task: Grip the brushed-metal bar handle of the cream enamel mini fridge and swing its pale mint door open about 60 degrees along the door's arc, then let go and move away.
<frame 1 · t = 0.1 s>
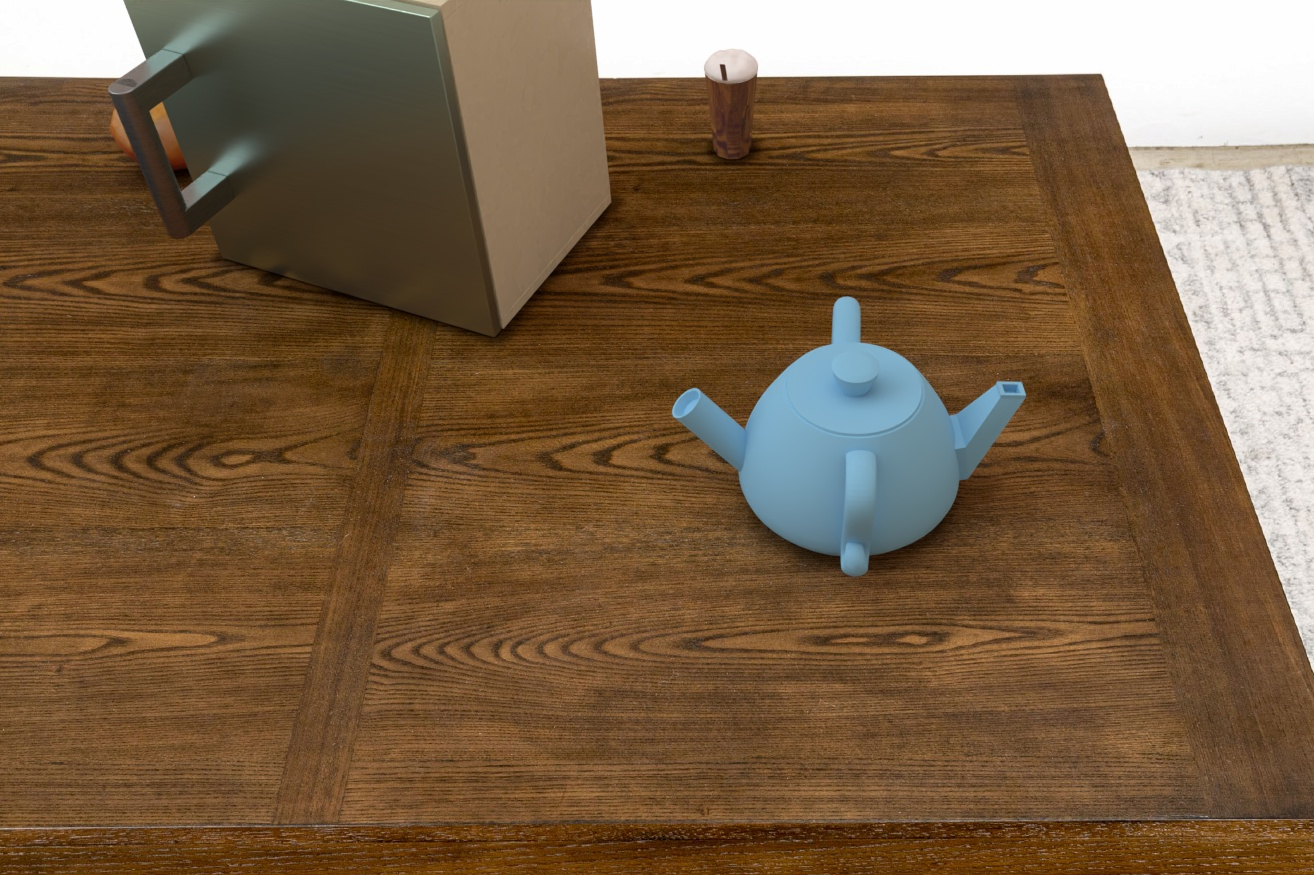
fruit: (176, 162, 114), on the table
fridge door: (289, 173, 89), point 13 cm above the table, hinge at 0.0°
milkshake: (731, 154, 113), on the table
fridge: (424, 226, 106), on the table
teapot: (841, 488, 85), on the table
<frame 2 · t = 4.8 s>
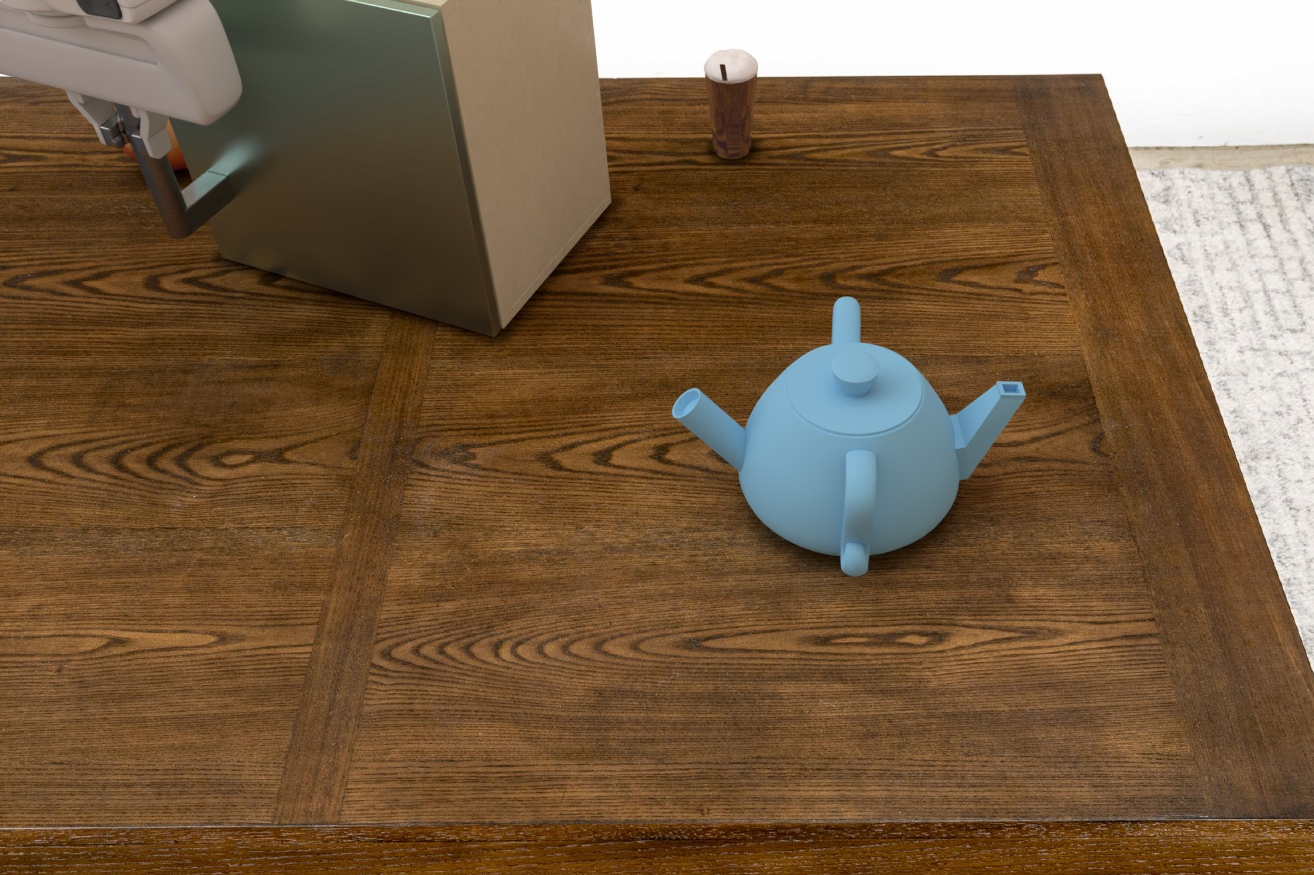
hand: (138, 148, 89), 15 cm above the table, tool pointing down, fingers closed on fridge door, 2 cm apart
fridge door: (289, 173, 89), point 13 cm above the table, hinge at 0.0°, touching gripper
everything else where it was.
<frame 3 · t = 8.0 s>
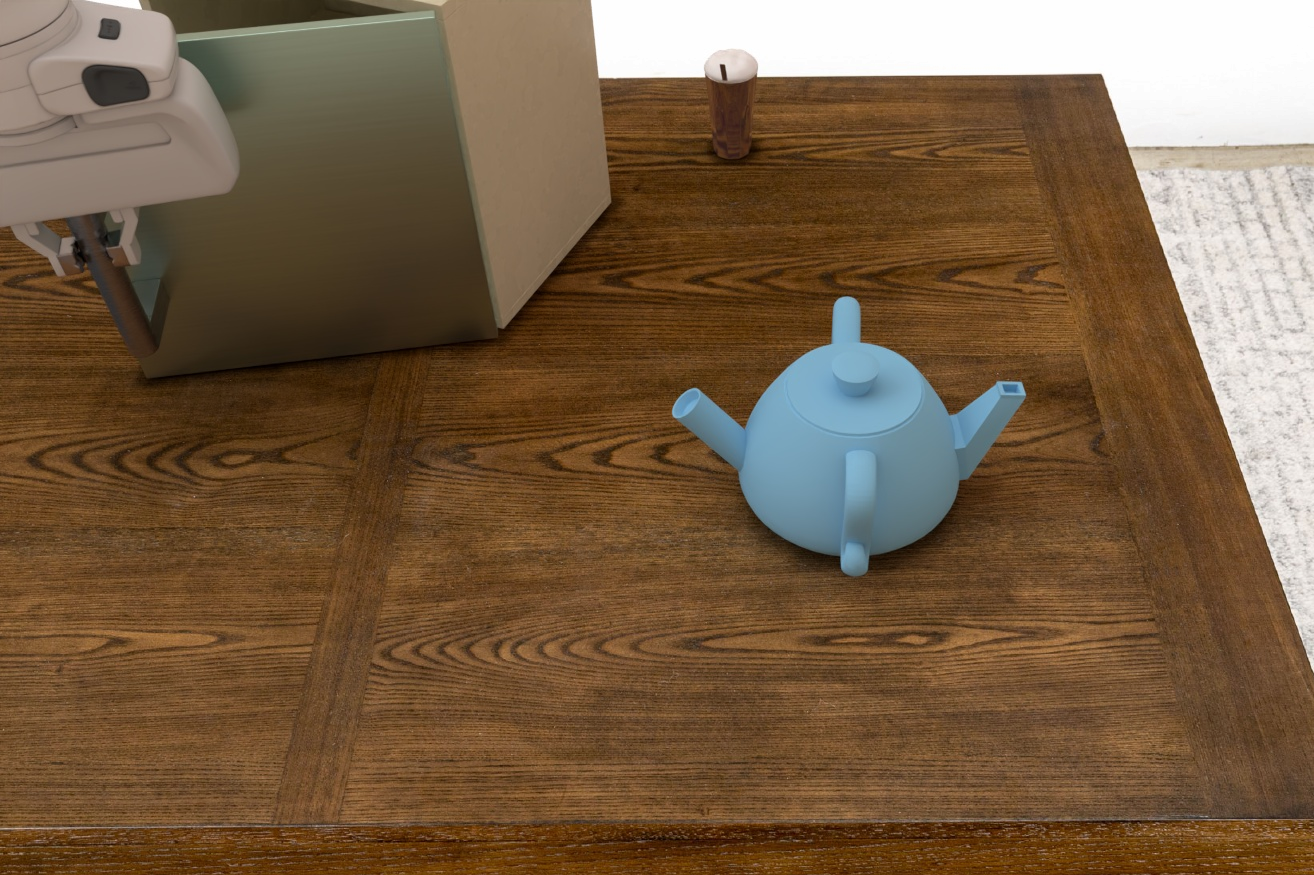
hand: (101, 265, 80), 15 cm above the table, tool pointing down, fingers closed on fridge door, 2 cm apart
fridge door: (273, 237, 84), point 13 cm above the table, hinge at 32.8°, touching gripper
everything else where it was.
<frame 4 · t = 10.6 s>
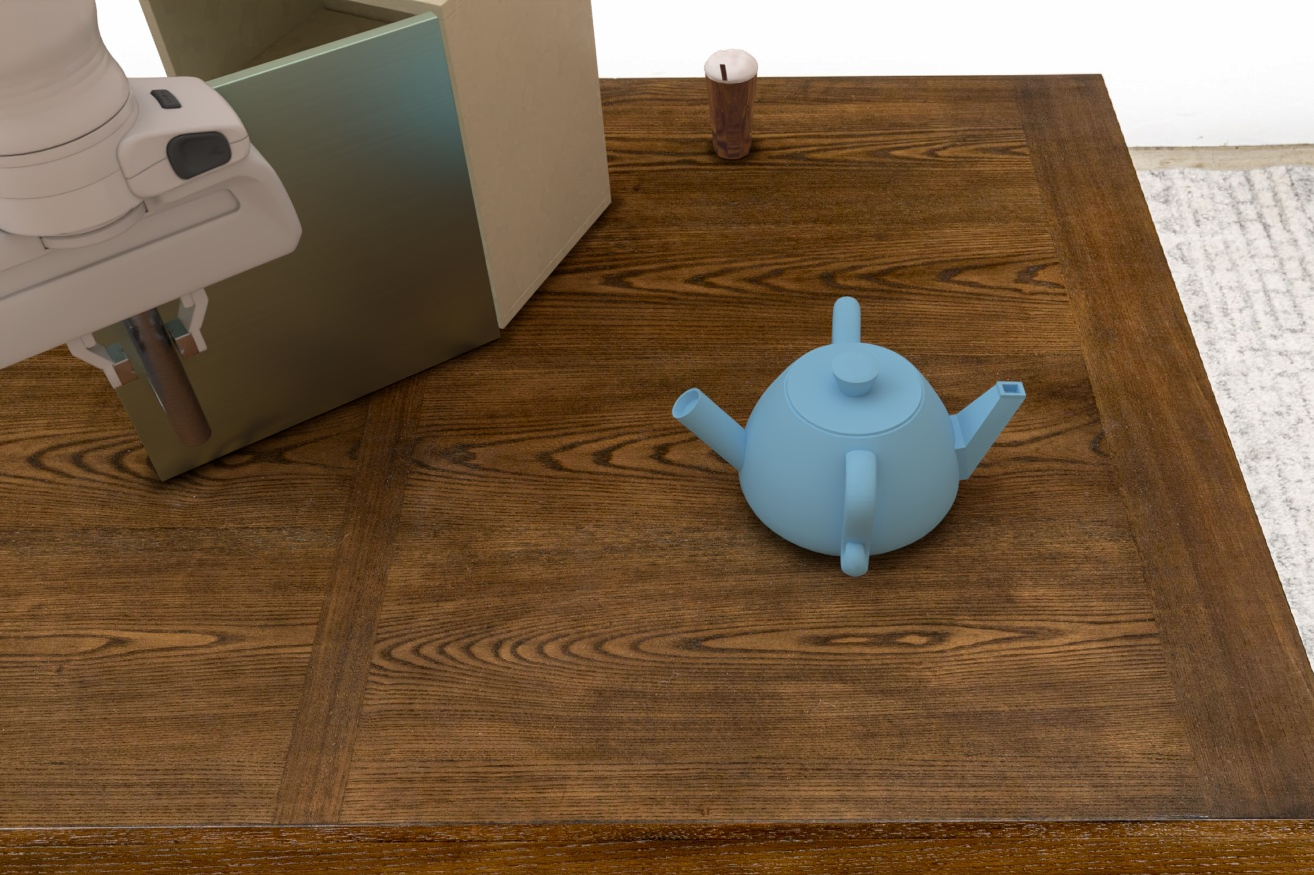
hand: (157, 363, 74), 14 cm above the table, tool pointing down, fingers open, 3 cm apart
fridge door: (306, 282, 81), point 13 cm above the table, hinge at 58.0°
everything else where it was.
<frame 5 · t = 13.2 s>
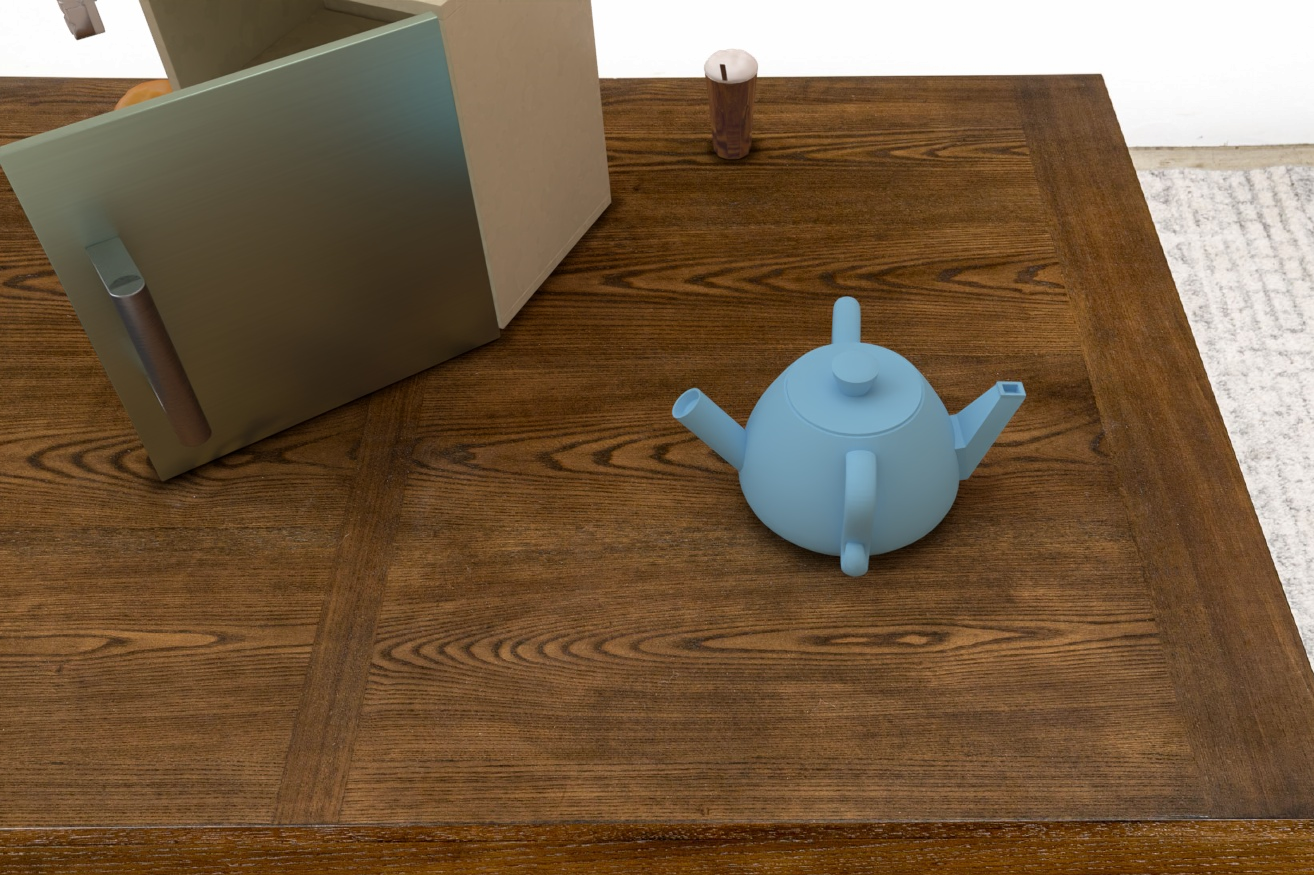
nothing on the table moved.
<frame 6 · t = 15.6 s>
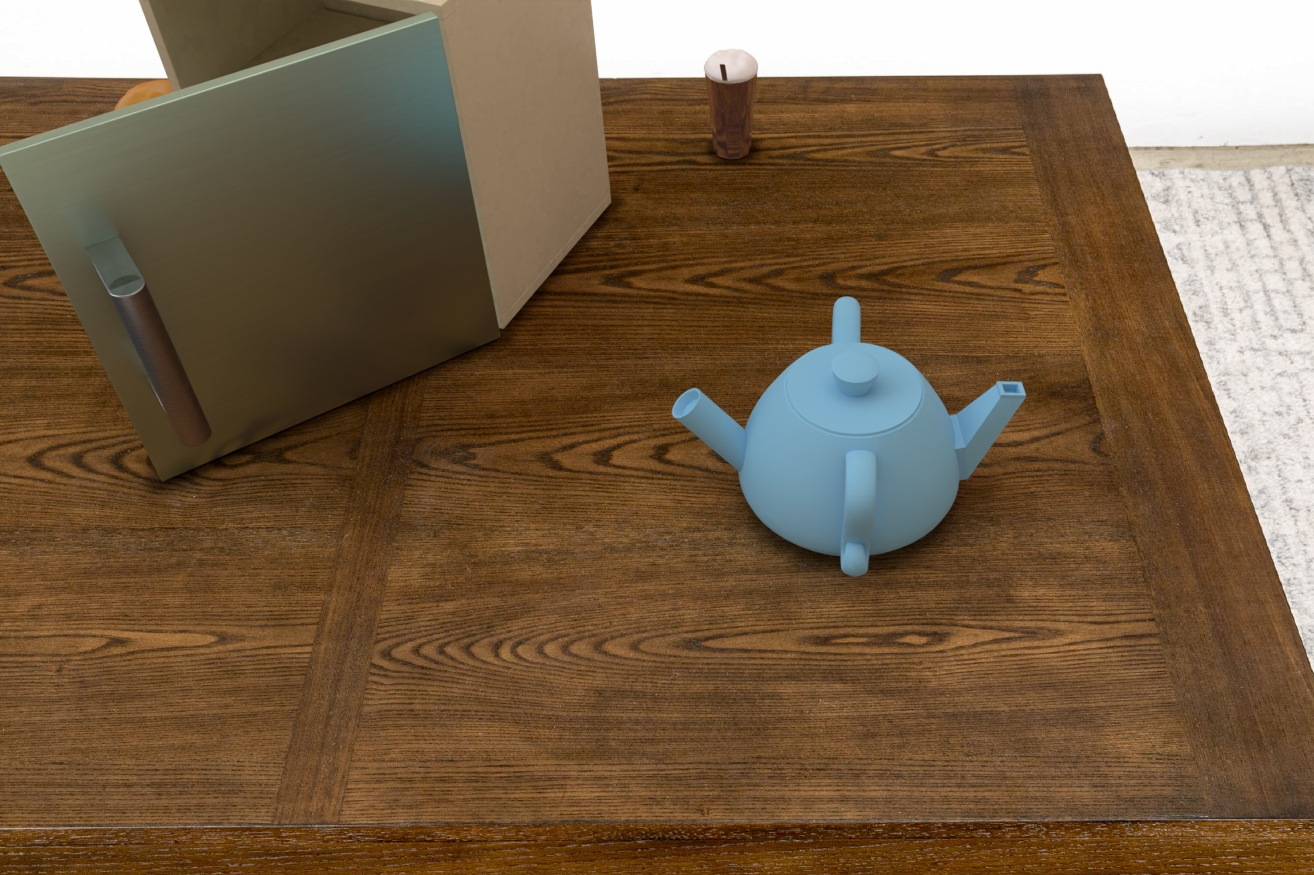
nothing on the table moved.
at the end: fridge door at +58° (first picture: +0°) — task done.
